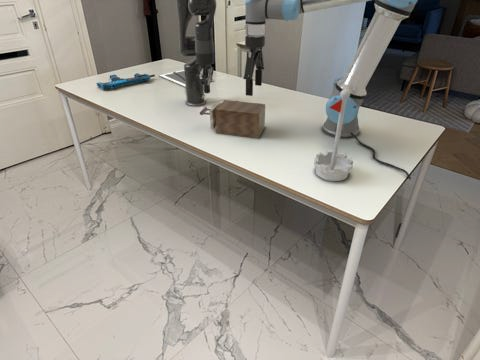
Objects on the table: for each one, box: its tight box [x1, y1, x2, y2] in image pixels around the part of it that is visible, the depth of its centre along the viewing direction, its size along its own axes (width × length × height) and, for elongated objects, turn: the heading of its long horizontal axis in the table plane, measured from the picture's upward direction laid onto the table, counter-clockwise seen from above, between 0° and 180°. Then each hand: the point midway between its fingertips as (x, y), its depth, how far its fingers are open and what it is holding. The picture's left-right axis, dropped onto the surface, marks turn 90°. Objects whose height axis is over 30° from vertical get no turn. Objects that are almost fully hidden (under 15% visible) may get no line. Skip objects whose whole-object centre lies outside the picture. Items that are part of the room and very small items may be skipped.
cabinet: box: [215, 99, 266, 139], centre depth 148 cm, size 19×12×11 cm, turn 74°
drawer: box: [199, 101, 221, 131], centre depth 149 cm, size 23×10×9 cm, turn 74°
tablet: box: [158, 69, 214, 88], centre depth 216 cm, size 32×20×1 cm, turn 41°
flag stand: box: [313, 89, 354, 182], centre depth 112 cm, size 13×13×30 cm
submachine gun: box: [95, 72, 156, 91], centre depth 209 cm, size 34×4×25 cm
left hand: (207, 92), depth 146 cm, fingers closed
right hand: (253, 90), depth 140 cm, fingers open, 13 cm apart
